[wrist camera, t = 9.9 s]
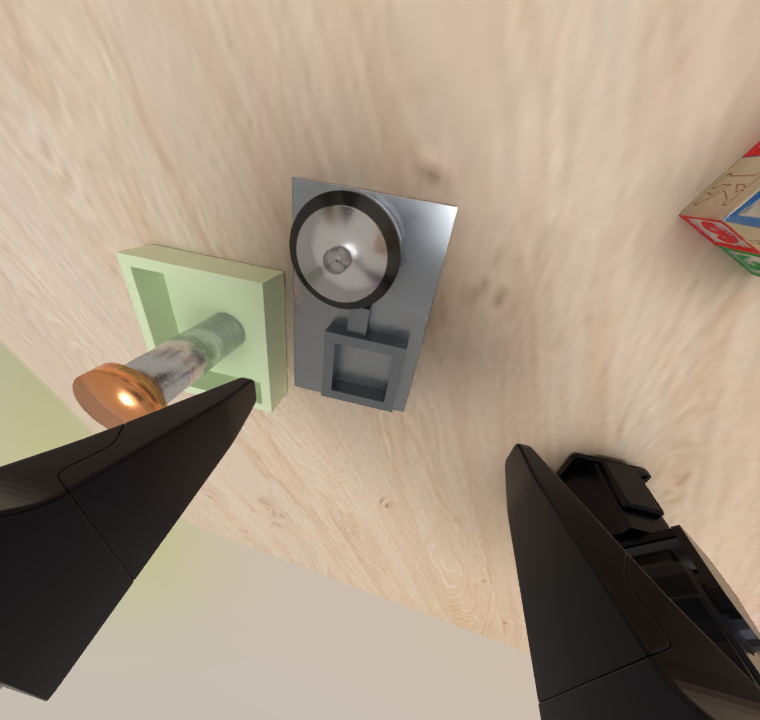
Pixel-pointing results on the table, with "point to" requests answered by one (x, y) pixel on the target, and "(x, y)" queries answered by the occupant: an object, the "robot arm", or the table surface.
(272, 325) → the tray
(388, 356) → the tensioner
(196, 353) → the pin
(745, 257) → the stack of blocks
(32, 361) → the table surface
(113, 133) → the table surface
